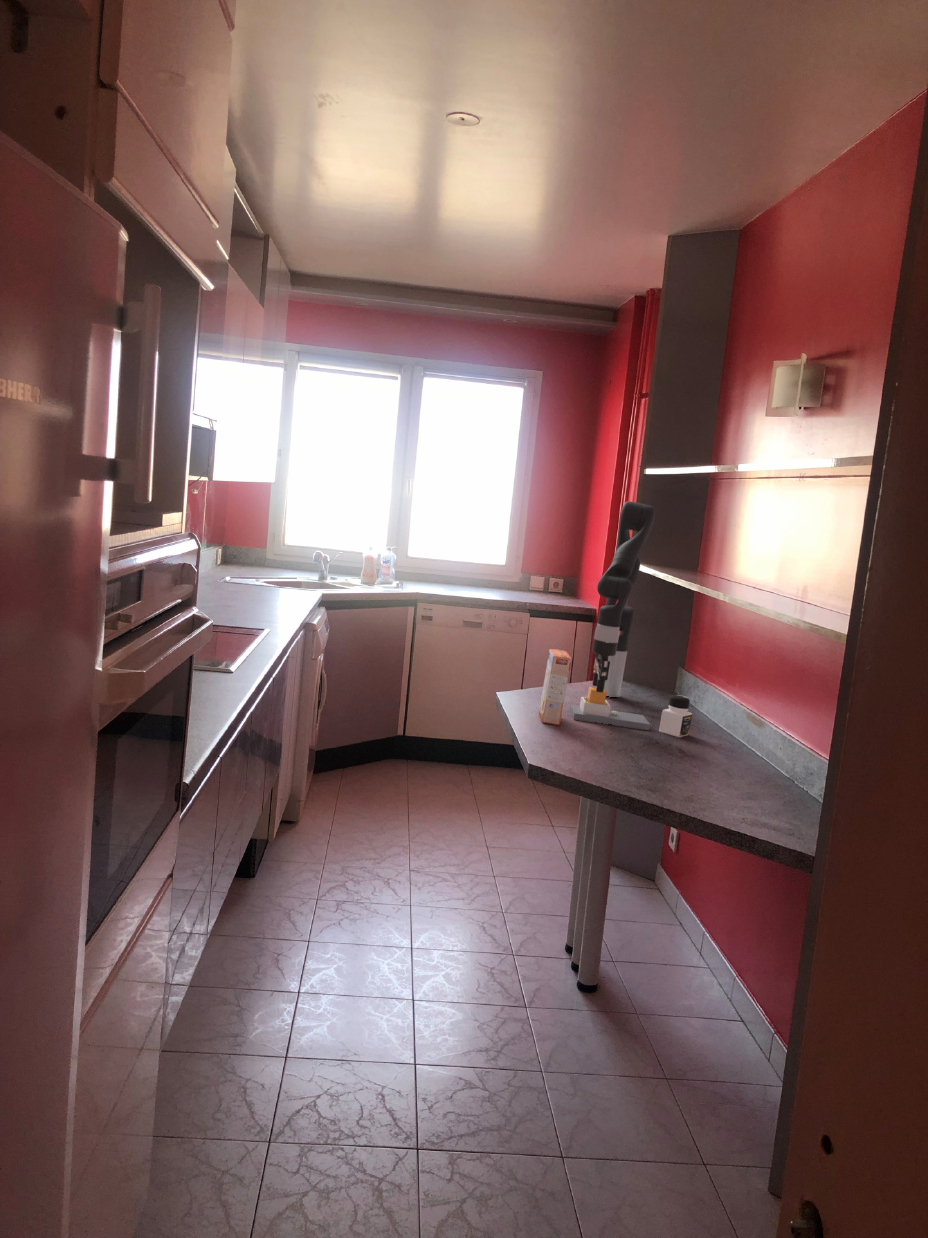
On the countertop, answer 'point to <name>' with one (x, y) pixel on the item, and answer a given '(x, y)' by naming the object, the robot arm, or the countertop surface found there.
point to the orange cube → (596, 696)
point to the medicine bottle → (676, 717)
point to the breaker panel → (607, 715)
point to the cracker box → (554, 686)
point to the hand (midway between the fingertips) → (597, 688)
